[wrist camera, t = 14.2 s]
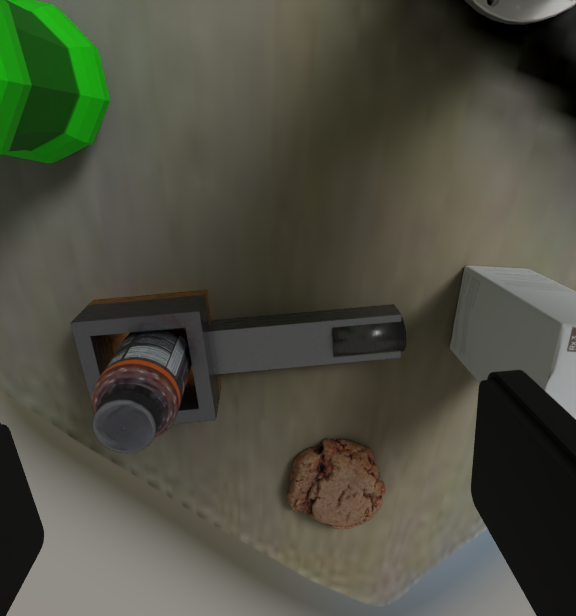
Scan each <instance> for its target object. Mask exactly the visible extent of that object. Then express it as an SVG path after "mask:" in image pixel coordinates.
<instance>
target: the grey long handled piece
mask: <svg viewBox="0 0 576 616" xmlns="http://www.w3.org/2000/svg"><path fill="white" fill-rule="evenodd" d="M70 324H71V327H72V331H73V335H74V339H75V343H76V346H77V350H78V354H79V358H80V362H81V366H82V369H83V373H84V377H85V381H86V385H87V389H88V392H89V396H90V400H91V398H92V392H93V389H94V387H95V384H96V382H97V381H98V379H99V378H100V376H101V374H102V373H103V371H104V370H105V368H106V367H107V365H108V364H109V362H110V361H111V359H112V358H113V356H114V355H115V353H116V352H117V350H118V349H119V347H120V346H121V344H122V343H123V341H124V340H125V338H126V337H127V336H128V335H129V334H130V333H131V332H142V331H153V330H165V329H176V328H178V329H179V330H180V331H182V332H183V333H184V334H185V336H186V337H187V339H188V345H189V351H190V357H191V363H192V366H191V370H190V373H189V376H188V379H187V383H186V386H185V389H184V393H183V396H182V400H181V403H180V406H179V409H178V413H177V416H176V418H175V420H174V421H173V423H172V424H179V423H190V422H201V421H211V420H216V417H217V411H218V404H219V398H220V392H221V385H220V378H219V374H227V373H238V372H249V371H260V370H271V369H282V368H293V367H304V366H315V365H326V364H337V363H348V362H359V361H370V360H381V359H392V358H401V351H404V350H405V347H406V330H405V325H404V321H403V318H402V316H401V313H400V312H399V311H398V309H397V308H396V307H395V305H382V306H371V307H360V308H349V309H337V310H326V311H315V312H303V313H292V314H281V315H270V316H258V317H247V318H236V319H224V320H213V321H211V316H210V309H209V302H208V295H207V290H204V291H192V292H181V293H169V294H158V295H146V296H135V297H124V298H112V299H101V300H93V301H92V302H91V303H90V304H89V305H88V306H87V307H86V308H85V309H84V310H83V311H82V312H81V313H80V314H79V315H78V316H77V317H76V318H75V319H74V320H73V321H72V322H71V323H70Z"/></svg>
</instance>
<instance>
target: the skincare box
mask: <svg viewBox="0 0 576 616" xmlns="http://www.w3.org/2000/svg"><path fill="white" fill-rule="evenodd" d="M450 350H451V351H452V352H453V353H454V355H455V356H456V357H457V358H458V359H459V360H460V362H461V363H462V364H463V365H464V366H465V367H466V368H467V370H468V371H469V372H470V373H471V374H472V375H473V376H474V378H475V379H476V380H477V381H478V382H479V383H480V382H481V381H482V380H487V377H488V375H489V374H490V373H491V372H499V371H510V370H522V371H524V372H525V373H526V374H527V375H528V376H529V377H531V378H532V379H533V380H534V381H535V382H536V383H537V384H538V385H539V386H540V387H541V388H542V389H543V390H545V391H546V392H547V393H548V394H549V395H550V396H551V397H552V398H553V399H554V400H555V401H556V402H558V403H559V404H560V405H561V406H562V407H563V408H564V409H565V410H566V411H567V412H568V413H569V414H570V415H572V416H573V417H574V418H575V419H576V291H574V290H572V289H569V288H567V287H565V286H563V285H561V284H559V283H557V282H555V281H553V280H551V279H549V278H546V277H544V276H542V275H540V274H538V273H536V272H534V271H532V270H530V269H522V268H502V267H484V266H465V268H464V273H463V278H462V283H461V288H460V294H459V299H458V304H457V310H456V315H455V321H454V327H453V334H452V339H451V343H450Z"/></svg>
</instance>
